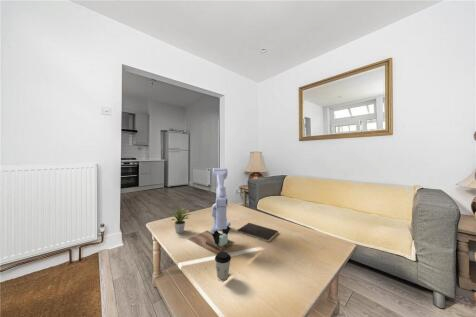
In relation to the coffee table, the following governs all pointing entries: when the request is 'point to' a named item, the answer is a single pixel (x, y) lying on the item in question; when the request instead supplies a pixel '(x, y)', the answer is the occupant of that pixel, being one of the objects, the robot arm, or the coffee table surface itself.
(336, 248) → the coffee table surface
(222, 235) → the sage block
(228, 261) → the coffee cup
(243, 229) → the hardcover book
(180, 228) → the house plant
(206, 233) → the shelf
